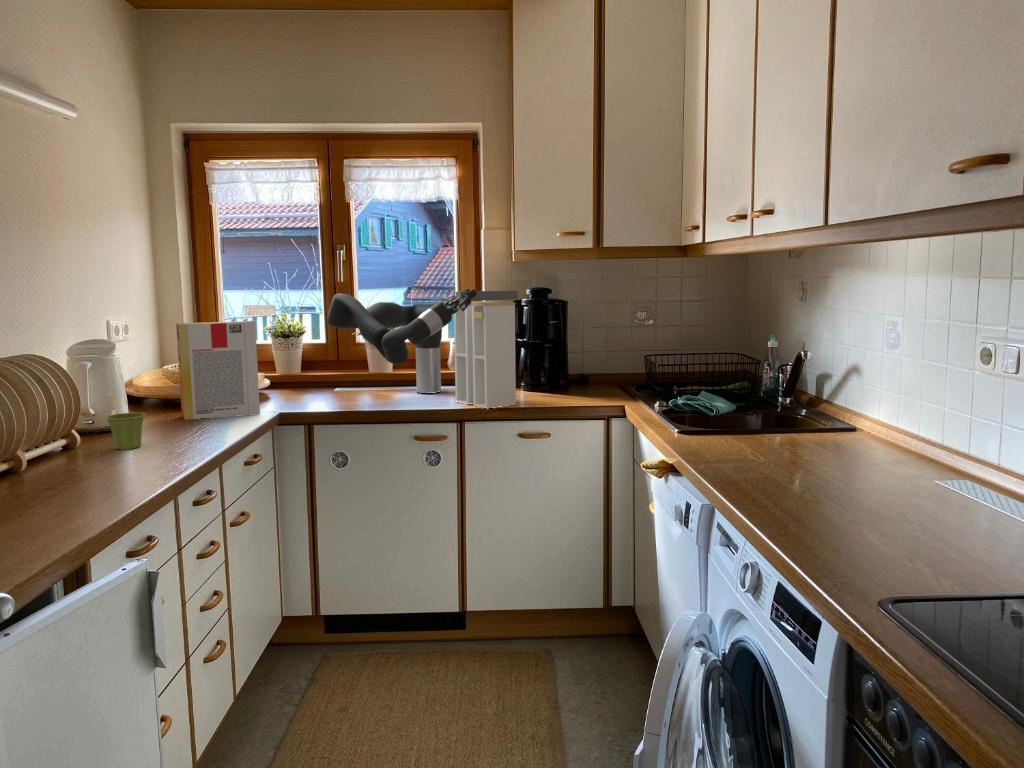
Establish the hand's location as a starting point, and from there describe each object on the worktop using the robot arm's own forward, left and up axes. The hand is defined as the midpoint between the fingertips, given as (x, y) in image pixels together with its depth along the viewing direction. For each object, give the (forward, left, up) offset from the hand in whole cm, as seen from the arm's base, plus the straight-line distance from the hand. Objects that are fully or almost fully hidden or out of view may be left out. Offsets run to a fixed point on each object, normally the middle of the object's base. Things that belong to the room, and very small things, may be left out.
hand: (472, 291), depth 271 cm
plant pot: (+80, -70, -39) cm, 113 cm away
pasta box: (+30, -76, -39) cm, 91 cm away
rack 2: (-7, +5, -39) cm, 40 cm away
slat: (-5, +4, -3) cm, 7 cm away
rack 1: (-13, -4, -39) cm, 41 cm away
